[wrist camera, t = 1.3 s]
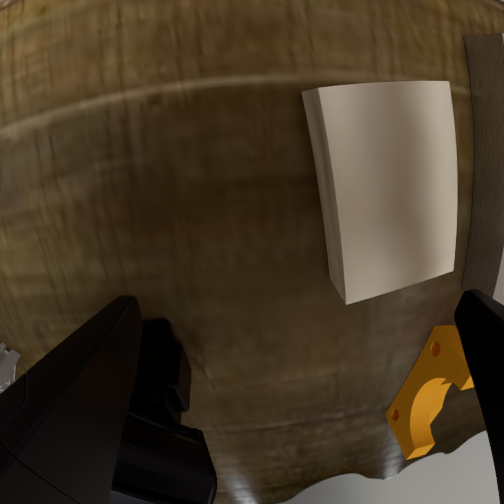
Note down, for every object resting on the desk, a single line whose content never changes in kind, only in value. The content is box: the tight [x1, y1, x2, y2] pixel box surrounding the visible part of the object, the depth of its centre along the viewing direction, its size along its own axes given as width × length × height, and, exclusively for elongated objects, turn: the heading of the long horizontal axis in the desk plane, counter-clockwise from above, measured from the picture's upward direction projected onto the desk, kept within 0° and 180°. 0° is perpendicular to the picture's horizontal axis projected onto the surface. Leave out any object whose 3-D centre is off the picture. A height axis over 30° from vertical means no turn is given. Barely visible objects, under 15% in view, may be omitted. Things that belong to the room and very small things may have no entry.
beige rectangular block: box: [302, 81, 457, 305], centre depth 17 cm, size 8×12×4 cm, turn 12°
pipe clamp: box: [385, 325, 474, 460], centre depth 24 cm, size 12×4×6 cm, turn 172°
